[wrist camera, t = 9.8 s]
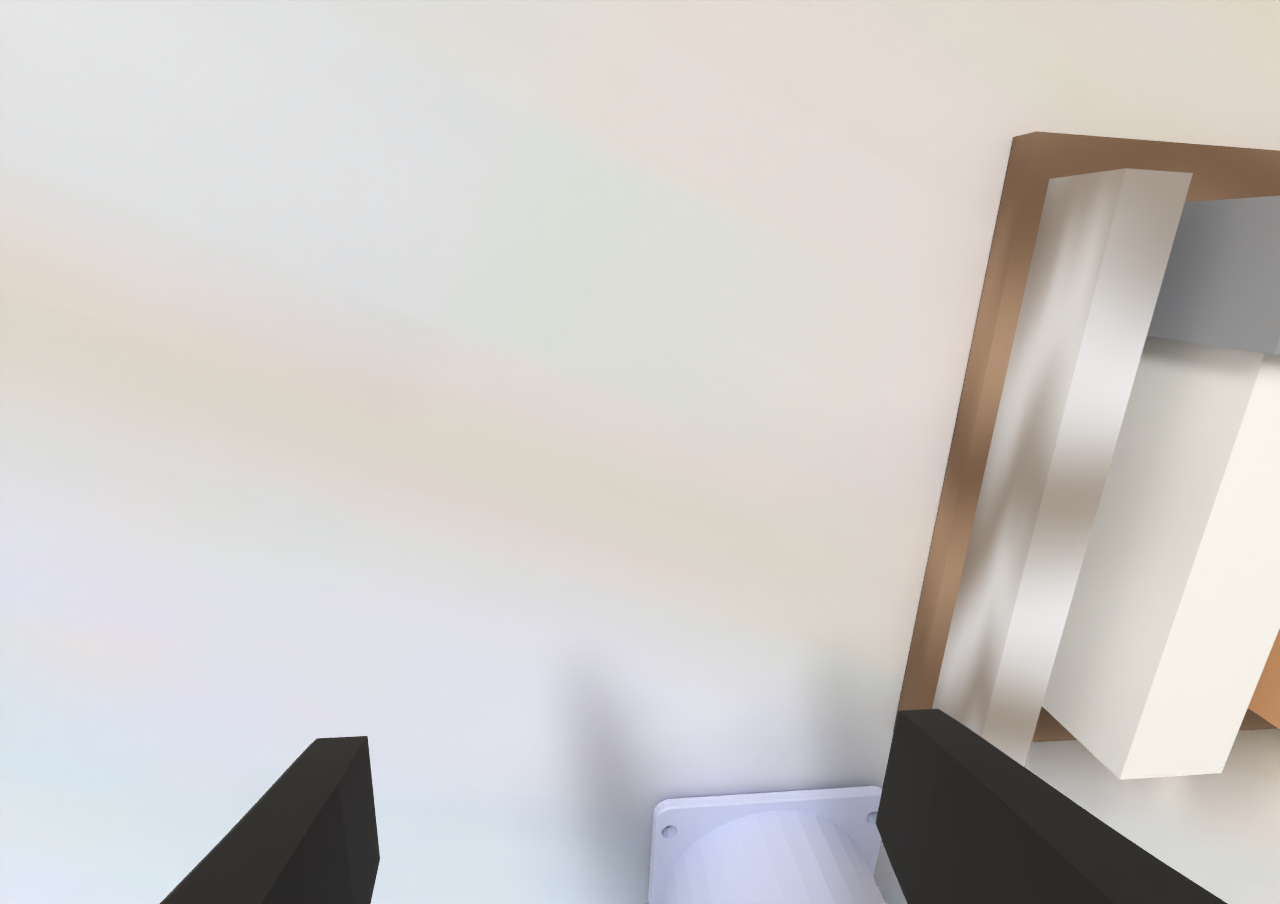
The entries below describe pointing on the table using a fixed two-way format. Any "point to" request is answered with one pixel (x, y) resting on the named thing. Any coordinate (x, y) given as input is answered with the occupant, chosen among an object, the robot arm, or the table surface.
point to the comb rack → (1049, 412)
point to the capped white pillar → (1186, 515)
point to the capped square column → (1269, 688)
